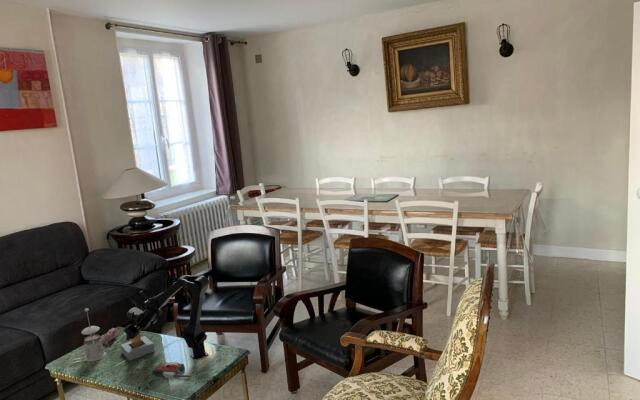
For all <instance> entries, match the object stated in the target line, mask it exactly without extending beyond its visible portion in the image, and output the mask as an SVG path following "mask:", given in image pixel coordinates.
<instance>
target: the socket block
mask: <svg viewBox="0 0 640 400" xmlns="http://www.w3.org/2000/svg"><path fill="white" fill-rule="evenodd" d="M140 337H141V342H142V345H141V346H138V347H136V348H132V342H131V340H128V341H127V342H124V343H121V344H120V349H121V353H122V354H123V355H124V357H126V358H127V360H128V361H133V360H135V359H139V358H140V357H143V356H145V355H148V354H150V353H153V352H155V345H154V342H152V341H151V339H149V338H148V337H147V336H145V335H144V336H140Z"/></svg>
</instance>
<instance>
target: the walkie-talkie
mask: <svg viewBox="0 0 640 400" xmlns="http://www.w3.org/2000/svg"><path fill="white" fill-rule="evenodd" d="M185 369H186V367H185V364H184V363H179V362H178V361H177V362H175V361H174V362H173V361H170V362H165V361H164V362H160V363H159V364H157V365H156V366H155V367H154V370H152V371H151V372H152V374H154V375H158V376H164V378H165V379H172V380H174V379H175V378H191V375H188V374H181V373H182V372H184V371H185Z"/></svg>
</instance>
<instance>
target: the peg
mask: <svg viewBox="0 0 640 400" xmlns="http://www.w3.org/2000/svg"><path fill="white" fill-rule="evenodd" d="M134 326H135V327H136V326H137V325H134ZM141 337H142V336H141V331H139V334H138V335H137V336H136V337H135V338H134V339H130V341H131V342H132V348H136V347H138V346H141V345H142V342H141Z"/></svg>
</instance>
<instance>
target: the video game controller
mask: <svg viewBox="0 0 640 400" xmlns="http://www.w3.org/2000/svg"><path fill="white" fill-rule="evenodd" d="M117 331H118V328H114V327H112V328H111V329H109V330H108V331H107V333H106V334H105V336H104V337H103V338H101V339H102V344H103V345H106V344H107V343H108V342H109V343H110V342H111V341H112V340H113V339H114V338H115V335H116V333H117Z"/></svg>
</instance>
